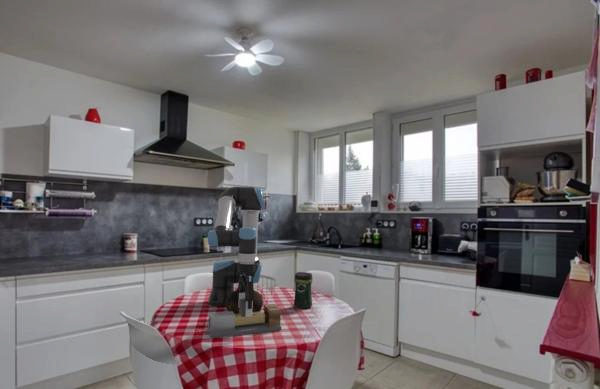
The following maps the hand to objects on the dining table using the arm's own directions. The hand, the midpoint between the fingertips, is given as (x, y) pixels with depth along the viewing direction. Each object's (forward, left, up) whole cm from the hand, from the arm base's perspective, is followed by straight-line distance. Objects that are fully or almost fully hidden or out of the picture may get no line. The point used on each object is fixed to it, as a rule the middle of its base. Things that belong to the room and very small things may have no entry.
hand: (245, 311), depth 148 cm
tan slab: (0, -2, -5) cm, 5 cm away
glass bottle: (-18, +4, -8) cm, 20 cm away
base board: (0, 0, -8) cm, 8 cm away
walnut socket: (0, +13, -6) cm, 14 cm away
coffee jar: (-24, +38, -8) cm, 46 cm away
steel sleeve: (0, -10, -6) cm, 12 cm away
